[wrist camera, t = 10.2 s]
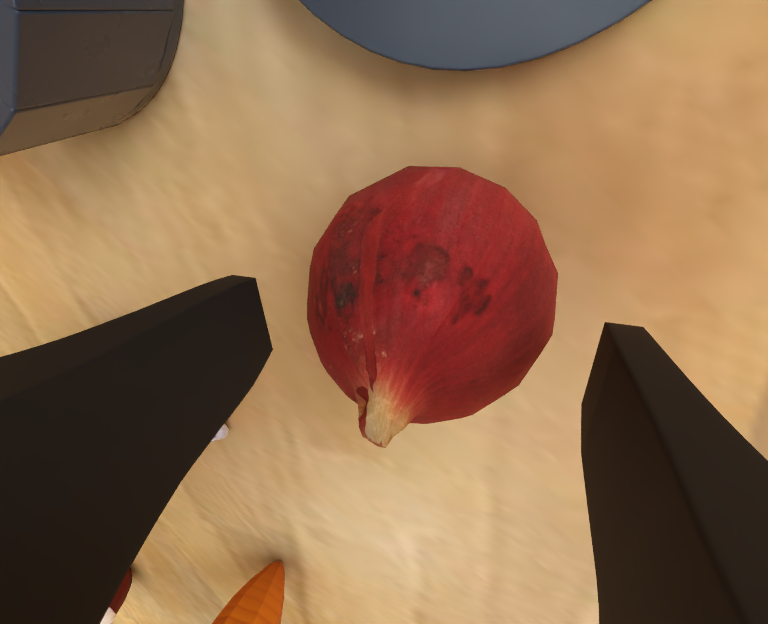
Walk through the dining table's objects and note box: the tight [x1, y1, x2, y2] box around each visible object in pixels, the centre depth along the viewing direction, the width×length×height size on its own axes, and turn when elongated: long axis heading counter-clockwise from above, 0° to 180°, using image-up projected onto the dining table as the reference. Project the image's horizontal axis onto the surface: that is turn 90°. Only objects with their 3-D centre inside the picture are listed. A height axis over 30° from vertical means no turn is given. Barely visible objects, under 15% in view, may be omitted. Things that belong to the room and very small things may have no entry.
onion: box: [307, 166, 558, 448], centre depth 10 cm, size 6×6×8 cm
